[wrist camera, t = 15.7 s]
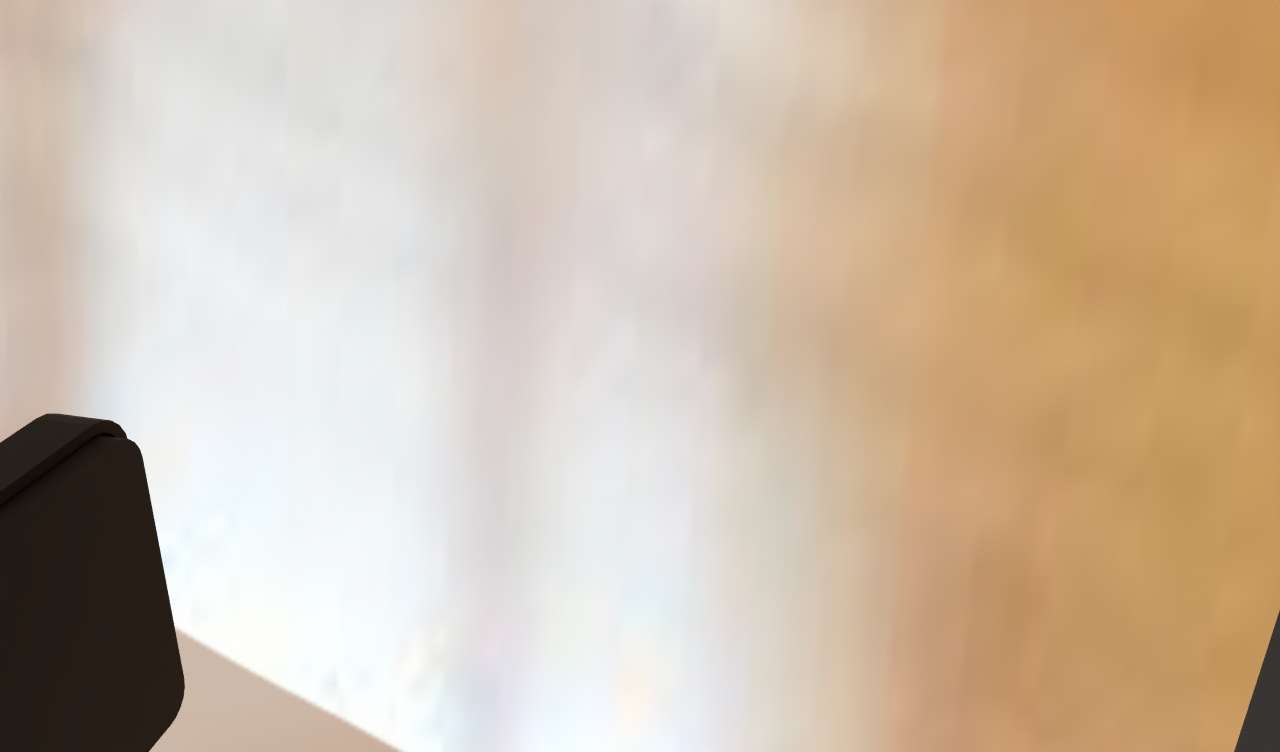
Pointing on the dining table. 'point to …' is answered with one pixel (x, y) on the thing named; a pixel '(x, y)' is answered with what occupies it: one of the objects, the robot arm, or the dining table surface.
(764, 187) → the dining table surface
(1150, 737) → the dining table surface
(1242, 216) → the dining table surface
